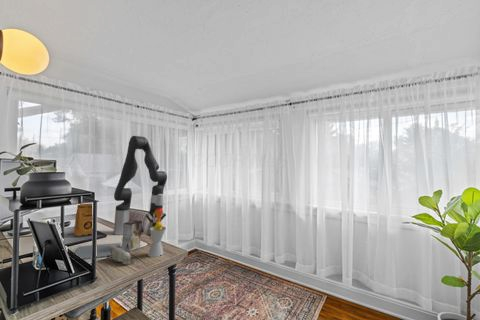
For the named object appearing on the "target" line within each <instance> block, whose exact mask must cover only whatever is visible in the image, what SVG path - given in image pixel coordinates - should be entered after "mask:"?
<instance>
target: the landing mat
mask: <svg viewBox="0 0 480 320" xmlns="http://www.w3.org/2000/svg"><path fill="white" fill-rule="evenodd" d="M110 244H112V245H115V246H116V247H119V248H121V246H122V242H114V243H104V244H103V243H102V244H96V245H97V256H96V258H95V259H101V258H107V254H108V256H109V255H110V249H111V248H110V246H109V245H110ZM92 245H93V244H92ZM92 245H91V244H90V245H80V246H78V247H77V249H76V250H75V252H74V253H75V254H77V255H78V256H79V257H81V258H82V259H83V260H91V257H92ZM109 257H112V256H111V255H110V256H109ZM109 257H108V258H109Z"/></svg>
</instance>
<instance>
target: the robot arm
mask: <svg viewBox="0 0 480 320" xmlns="http://www.w3.org/2000/svg"><path fill="white" fill-rule="evenodd" d="M137 150H142V151H143V152H144V157H143V158H144V160H143V161H144V164H145V166H146V168H147V170H148V174H149V179H150V181H152V182H154V183H157V184H156V185H153V186H152V188H151V197H150V206H149V210H148V213H145V217H146V218H147V220H148V221H149V222H150V223H152V227H155V225H156V222H157V216H156V214H155V210H156V209H157V208H161V209H162V210H163V207H164V205H155V204H156V200H157V196H158V194H163V195H164V190H165V189H164V188H165V186H166V183H167V179H168V174H167V173H166V172H165V171H162V170H159V169H160V165H159V163H158V161H157V159H156V158H155V157H154V154H153V151H152V148H151V145H150V143H149V140H148V138H147V137H145V136H140V135H132V136H131V137H130V138H129V141H128V147H127V152H126V156H125V160H124V164H123V166H122V169H121V174H120V176H119V177H120V178H119V180H118V183H117V186H116V187H115V190H114V194H113V198H114V200H115V201H117V202H121V201H123V202H121V203H120V204H118V205H116V206H115V212H114V214H115V215H114V220H113V232H112V233H113V235H117V236H118V235H119V236H121V235H123V225H124V223H126V222H129V219H130V209H131V203H132V198H133V197H132V195H133V192H132V189H131V188H129V187H126V185H127V184H128V183H129V182H130V181H131V180H132V179H133V178H135V176H136V174H137V170H138V168H139V166H138V162H137V160H136V152H137ZM166 216H167V214H166V213H164V212H163V213H162V216H161V219H160V222H161V223H162V221H163V219H164V218H165V217H166Z"/></svg>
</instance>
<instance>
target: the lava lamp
mask: <svg viewBox="0 0 480 320" xmlns="http://www.w3.org/2000/svg"><path fill="white" fill-rule="evenodd" d="M155 205H163V206H164V205H165V199H164V193H163V194H158V196H157V200H156V204H155ZM162 213H164V210H163V208H162V209H161V208H157V209H156V210H155V214H156V216H157V222H156V225H155V227H149V232H150V236H151V240H152V243H151V246H150V247H149V251H148V253H147V256H148V257H149V256H150V258H158V257H157V256H159V257H161V256H160V255H162V254H163V253H164V250H163V245H162V239H163V237H164V234H165V232H166V230H167V229H166V227H165V226H163V223H162V221H161V222H160V219H161V216H162ZM163 255H164V254H163ZM163 255H162V256H163Z"/></svg>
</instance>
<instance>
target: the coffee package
mask: <svg viewBox="0 0 480 320" xmlns="http://www.w3.org/2000/svg"><path fill="white" fill-rule="evenodd" d="M79 204H80V205H78V204H77V207H76V208H77V209H76V212H75V213H76V214H75V221H74V230H73V235H74V236H75V237H83V236H82V235H84V236H89V235H88V234H91V235H93V234H92V203H79Z"/></svg>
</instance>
